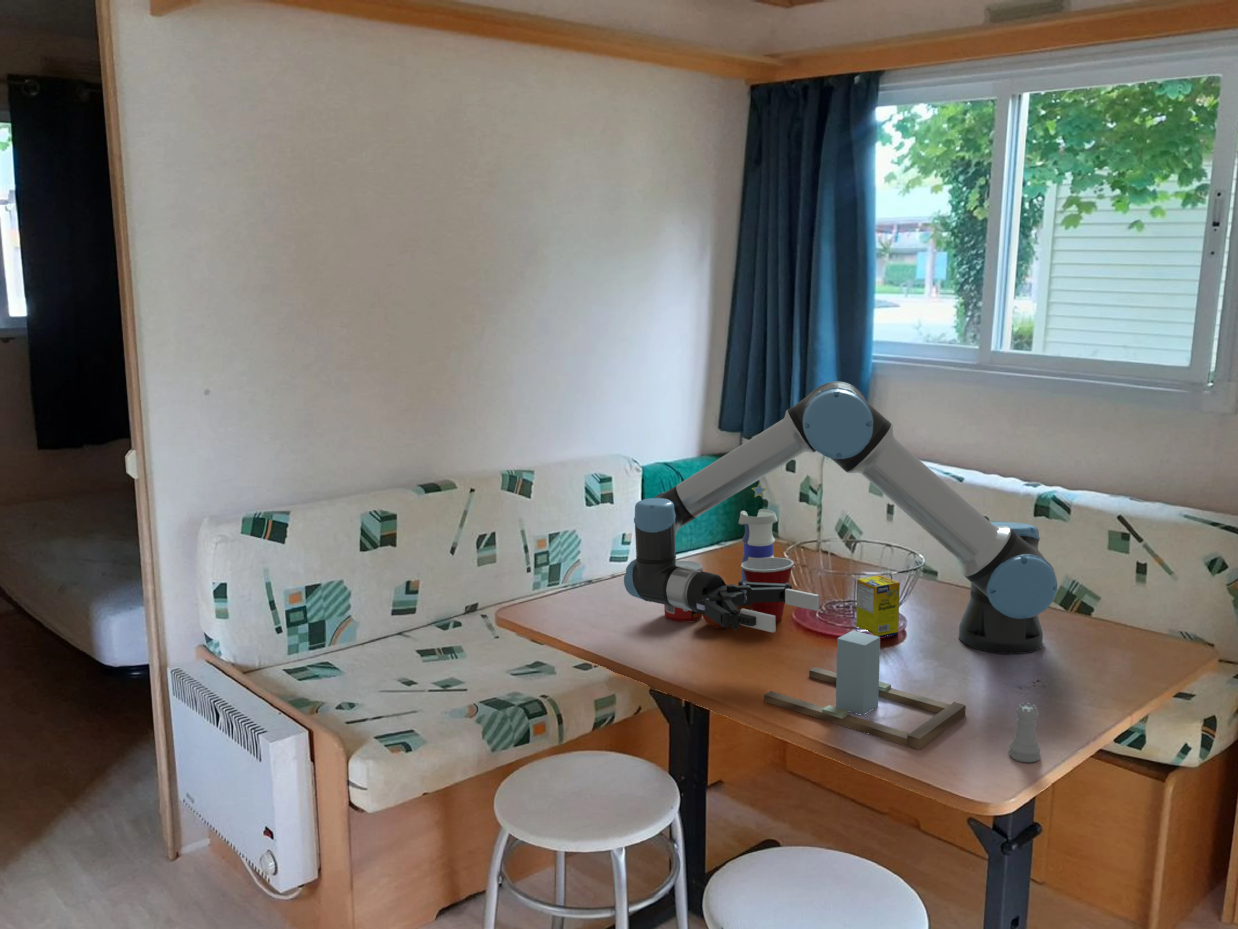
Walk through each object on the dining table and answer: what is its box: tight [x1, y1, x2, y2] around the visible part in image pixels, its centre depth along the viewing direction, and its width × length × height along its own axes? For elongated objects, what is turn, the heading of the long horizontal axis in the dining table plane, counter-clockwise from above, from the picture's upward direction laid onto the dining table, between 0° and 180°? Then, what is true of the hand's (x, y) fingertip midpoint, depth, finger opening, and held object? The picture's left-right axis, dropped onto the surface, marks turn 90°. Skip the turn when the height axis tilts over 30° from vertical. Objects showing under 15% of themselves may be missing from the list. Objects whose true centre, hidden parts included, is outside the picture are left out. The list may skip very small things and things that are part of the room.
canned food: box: [663, 560, 704, 623], centre depth 220 cm, size 8×8×11 cm
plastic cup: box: [740, 556, 795, 623], centre depth 219 cm, size 11×11×12 cm
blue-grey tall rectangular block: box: [835, 629, 881, 716], centre depth 175 cm, size 5×5×12 cm
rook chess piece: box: [1008, 702, 1042, 764], centre depth 157 cm, size 4×4×8 cm
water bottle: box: [738, 482, 779, 601], centre depth 230 cm, size 8×9×25 cm
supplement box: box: [855, 574, 901, 637], centre depth 208 cm, size 6×6×11 cm
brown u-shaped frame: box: [763, 666, 967, 751], centre depth 175 cm, size 28×16×2 cm, turn 48°
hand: (797, 613), depth 181 cm, fingers open, 13 cm apart
